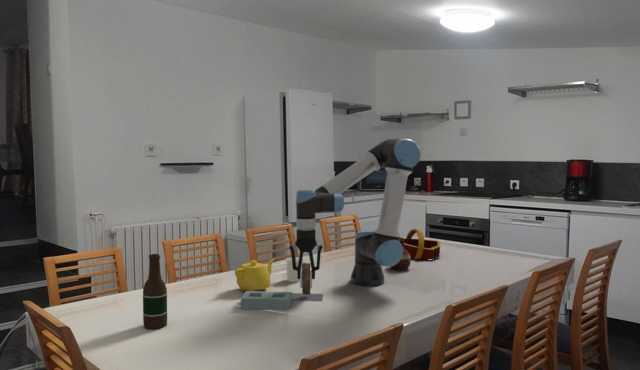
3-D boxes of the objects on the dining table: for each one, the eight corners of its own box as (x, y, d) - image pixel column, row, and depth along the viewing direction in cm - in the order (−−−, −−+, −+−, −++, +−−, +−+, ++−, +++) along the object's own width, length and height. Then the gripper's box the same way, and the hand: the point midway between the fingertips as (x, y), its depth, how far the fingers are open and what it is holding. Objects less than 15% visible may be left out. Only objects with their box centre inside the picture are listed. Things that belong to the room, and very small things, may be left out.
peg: (311, 292, 203) (311, 263, 202) (308, 294, 200) (308, 264, 199) (304, 291, 205) (304, 262, 204) (301, 294, 202) (300, 264, 201)
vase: (385, 269, 252) (386, 239, 251) (391, 265, 262) (391, 235, 261) (407, 272, 248) (408, 240, 246) (412, 267, 258) (413, 237, 257)
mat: (323, 294, 207) (323, 293, 207) (322, 302, 197) (322, 301, 197) (289, 293, 208) (289, 293, 208) (286, 301, 198) (286, 300, 198)
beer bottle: (146, 322, 172) (145, 252, 171) (169, 321, 173) (169, 252, 171) (140, 330, 164) (139, 257, 163) (164, 329, 165) (163, 257, 163)
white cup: (301, 283, 224) (301, 261, 223) (284, 282, 225) (284, 260, 225) (305, 279, 232) (305, 257, 231) (288, 278, 233) (288, 256, 232)
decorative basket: (444, 265, 273) (449, 238, 272) (390, 256, 273) (395, 229, 272) (432, 253, 306) (436, 229, 306) (384, 245, 307) (388, 221, 306)
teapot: (283, 289, 215) (283, 260, 214) (244, 297, 202) (244, 267, 201) (265, 282, 225) (265, 254, 224) (226, 290, 212) (225, 261, 211)
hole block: (292, 302, 197) (292, 292, 196) (289, 310, 187) (289, 299, 186) (246, 301, 197) (246, 290, 197) (240, 309, 188) (240, 298, 187)
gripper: (326, 227, 204) (327, 284, 206) (286, 227, 205) (287, 284, 206) (326, 230, 196) (326, 289, 198) (284, 230, 197) (285, 289, 199)
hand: (306, 286), depth 202 cm, fingers closed on peg, 3 cm apart
